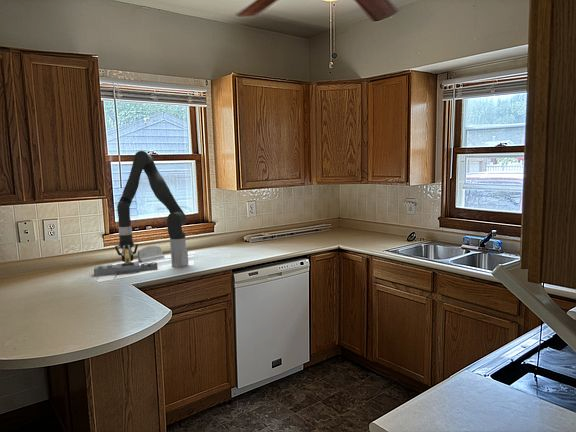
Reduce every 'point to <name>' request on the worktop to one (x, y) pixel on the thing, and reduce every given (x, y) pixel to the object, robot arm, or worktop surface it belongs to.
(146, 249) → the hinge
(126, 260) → the brass pin
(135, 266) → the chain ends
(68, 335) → the worktop surface
